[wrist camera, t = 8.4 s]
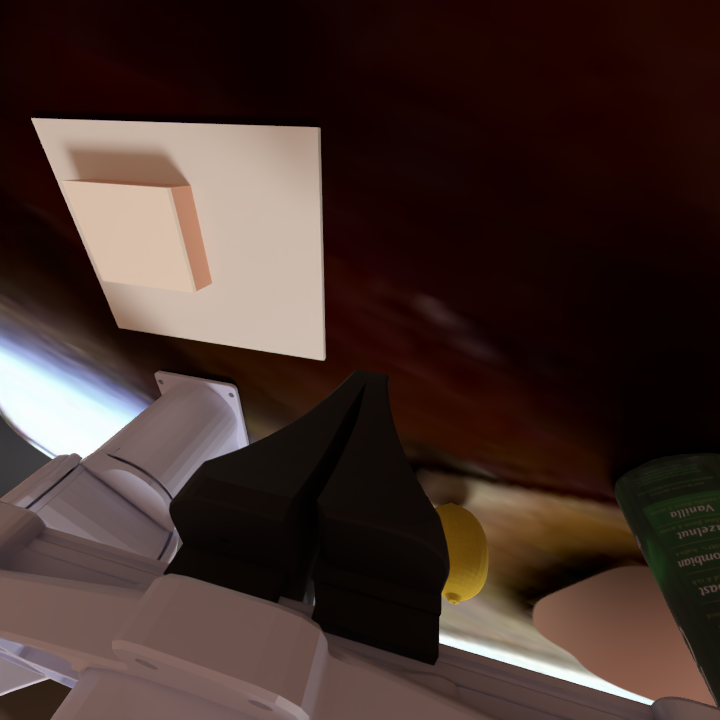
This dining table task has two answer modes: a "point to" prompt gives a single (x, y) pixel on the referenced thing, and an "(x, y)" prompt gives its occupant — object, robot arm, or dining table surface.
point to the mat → (218, 225)
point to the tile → (142, 232)
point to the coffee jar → (682, 545)
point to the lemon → (463, 553)
